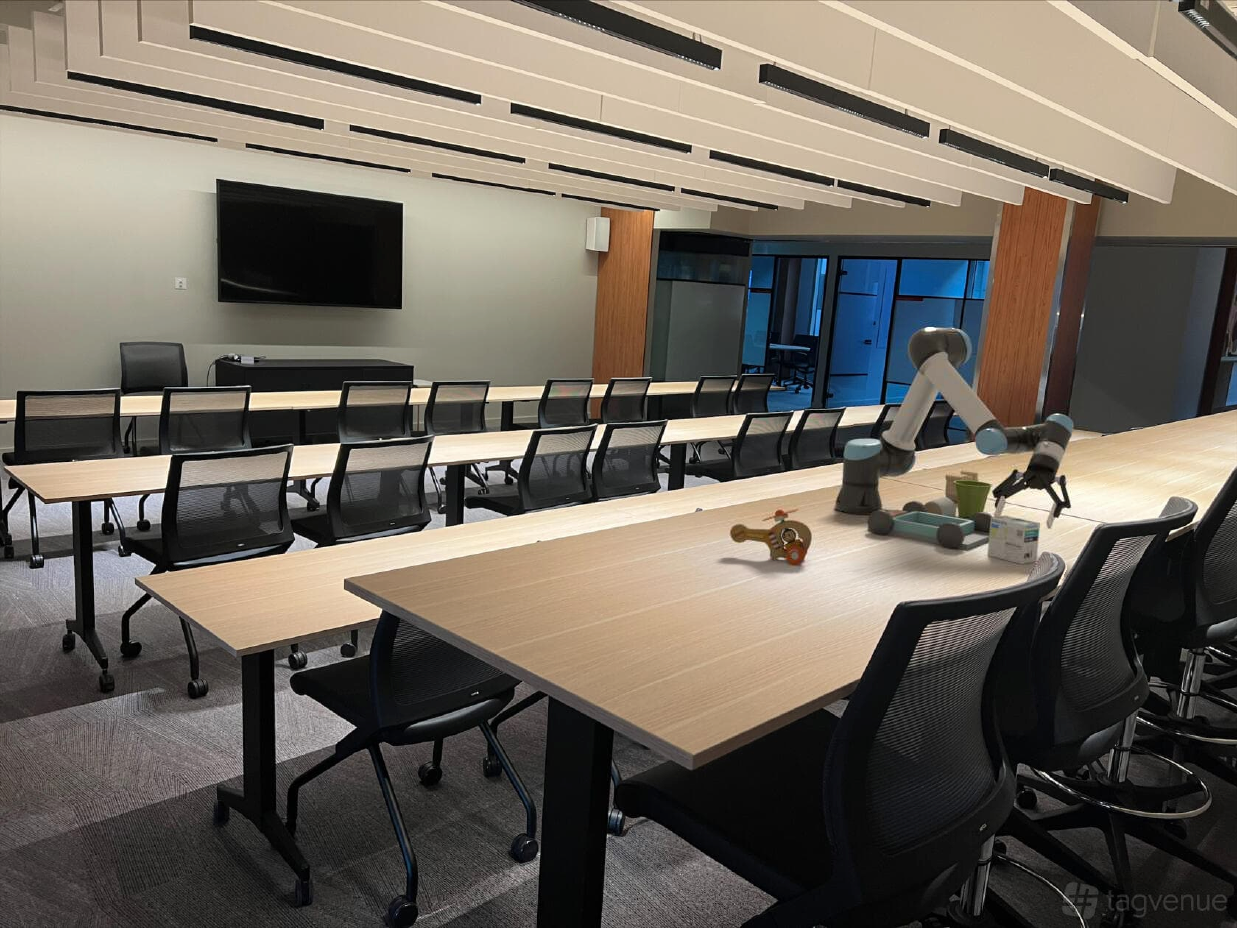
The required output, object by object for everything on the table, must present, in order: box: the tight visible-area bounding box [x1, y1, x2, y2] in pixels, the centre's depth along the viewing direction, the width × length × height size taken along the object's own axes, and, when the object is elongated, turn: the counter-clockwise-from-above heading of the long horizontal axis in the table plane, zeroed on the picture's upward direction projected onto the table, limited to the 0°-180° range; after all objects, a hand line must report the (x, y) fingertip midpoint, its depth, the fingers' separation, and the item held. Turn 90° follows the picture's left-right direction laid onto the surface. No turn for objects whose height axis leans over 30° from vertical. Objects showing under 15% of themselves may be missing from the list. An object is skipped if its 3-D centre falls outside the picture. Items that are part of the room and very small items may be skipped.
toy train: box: [944, 470, 979, 503], centre depth 326 cm, size 6×17×10 cm, turn 136°
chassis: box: [867, 500, 993, 551], centre depth 268 cm, size 30×25×7 cm
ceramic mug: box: [924, 496, 958, 518], centre depth 286 cm, size 11×8×8 cm
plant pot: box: [954, 480, 994, 519], centre depth 297 cm, size 12×12×11 cm
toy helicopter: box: [729, 508, 813, 566], centre depth 234 cm, size 8×21×14 cm, turn 72°
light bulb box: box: [986, 515, 1041, 565], centre depth 243 cm, size 11×7×11 cm, turn 33°
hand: (1021, 521), depth 245 cm, fingers open, 13 cm apart
